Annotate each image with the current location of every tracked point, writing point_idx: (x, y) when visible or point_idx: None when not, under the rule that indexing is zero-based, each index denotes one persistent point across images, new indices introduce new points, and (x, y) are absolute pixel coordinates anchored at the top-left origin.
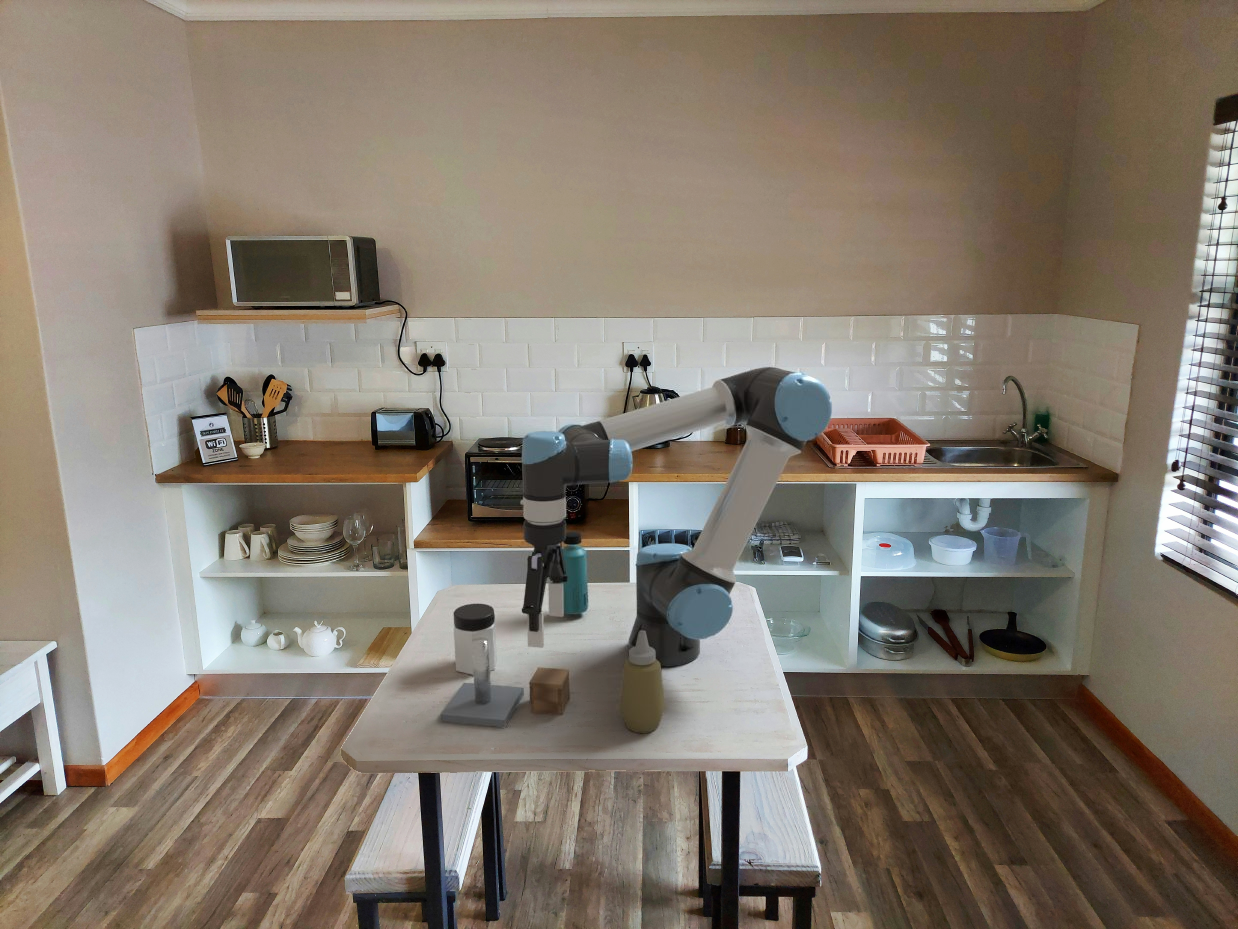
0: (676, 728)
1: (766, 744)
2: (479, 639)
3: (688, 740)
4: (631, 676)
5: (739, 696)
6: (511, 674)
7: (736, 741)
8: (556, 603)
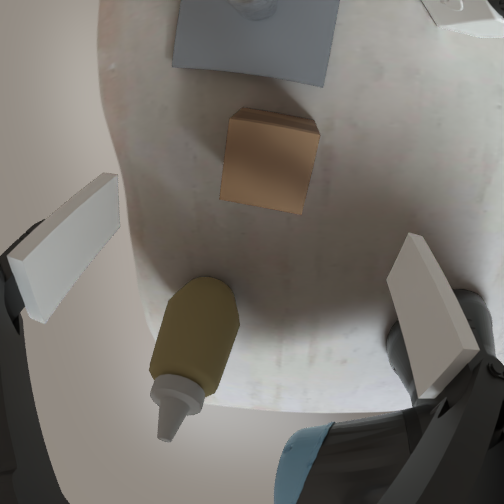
0: None
1: None
2: None
3: None
4: (152, 355)
5: (289, 389)
6: (417, 60)
7: None
8: (410, 298)
